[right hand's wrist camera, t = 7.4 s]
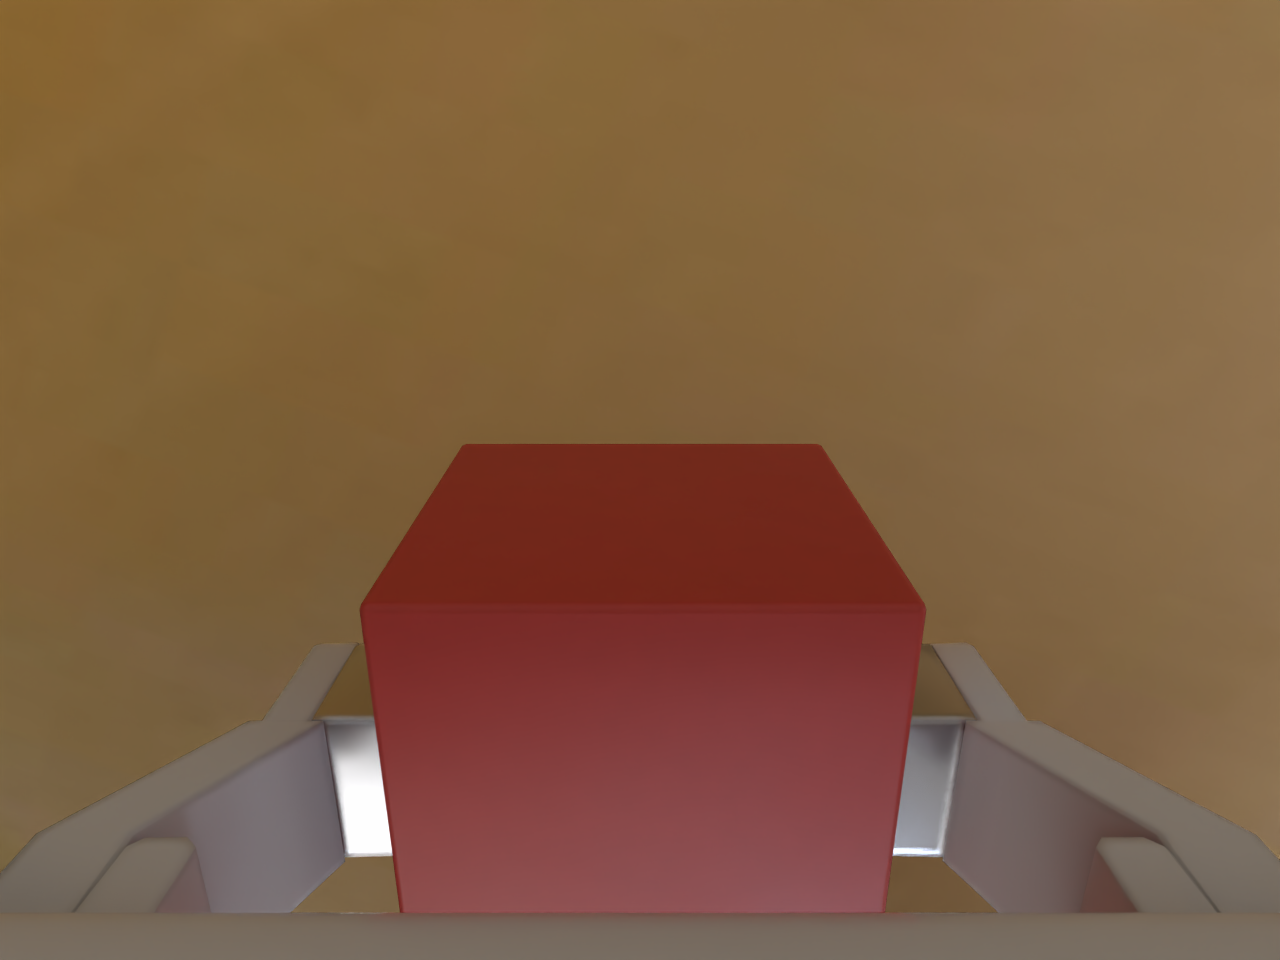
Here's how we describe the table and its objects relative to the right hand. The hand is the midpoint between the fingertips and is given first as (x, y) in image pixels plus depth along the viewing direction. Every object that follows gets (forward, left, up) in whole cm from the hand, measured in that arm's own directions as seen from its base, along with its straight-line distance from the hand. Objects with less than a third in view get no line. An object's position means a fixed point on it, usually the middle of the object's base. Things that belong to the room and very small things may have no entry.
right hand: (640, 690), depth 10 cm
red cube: (0, 0, -2) cm, 2 cm away
